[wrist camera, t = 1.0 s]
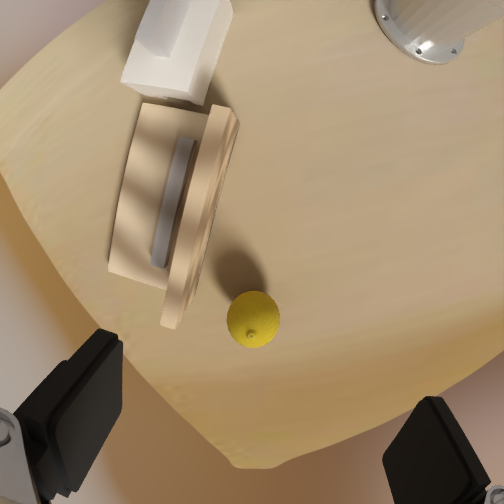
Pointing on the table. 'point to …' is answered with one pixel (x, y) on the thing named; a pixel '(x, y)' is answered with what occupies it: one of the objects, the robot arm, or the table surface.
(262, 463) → the table surface
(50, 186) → the table surface
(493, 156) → the table surface
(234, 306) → the lemon
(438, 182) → the table surface
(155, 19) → the white stepped block
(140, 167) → the cleat board
